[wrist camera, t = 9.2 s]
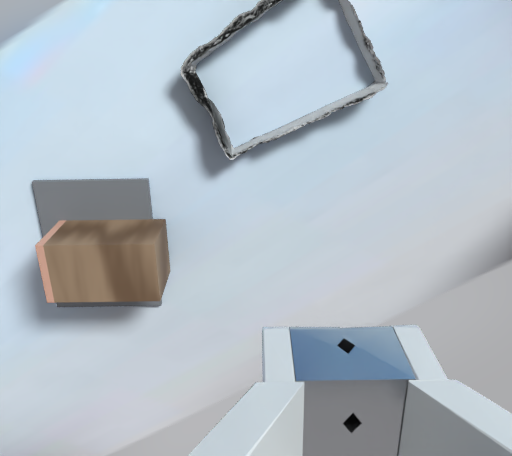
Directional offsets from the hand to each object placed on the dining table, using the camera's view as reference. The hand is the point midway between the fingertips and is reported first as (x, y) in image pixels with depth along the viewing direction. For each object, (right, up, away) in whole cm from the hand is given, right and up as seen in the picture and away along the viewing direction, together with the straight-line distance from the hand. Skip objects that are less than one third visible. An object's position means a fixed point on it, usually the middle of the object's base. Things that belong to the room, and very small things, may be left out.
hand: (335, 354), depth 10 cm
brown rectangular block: (-9, 0, +31) cm, 32 cm away
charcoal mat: (-15, +1, +33) cm, 37 cm away
